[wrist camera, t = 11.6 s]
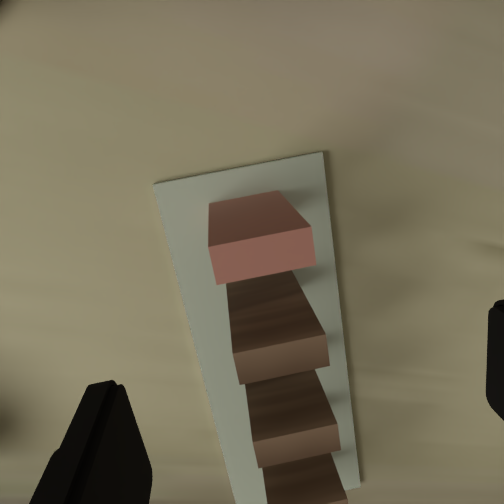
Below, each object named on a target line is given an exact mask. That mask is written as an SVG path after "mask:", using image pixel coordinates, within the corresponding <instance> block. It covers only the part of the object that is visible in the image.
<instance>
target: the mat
mask: <svg viewBox="0 0 504 504" xmlns="http://www.w3.org/2000/svg"><path fill="white" fill-rule="evenodd" d="M153 188H154V192H155V196H156V200H157V203H158V207H159V211H160V215H161V219H162V223H163V226H164V230H165V234H166V238H167V242H168V246H169V249H170V253H171V257H172V261H173V265H174V269H175V272H176V276H177V280H178V284H179V288H180V292H181V295H182V299H183V303H184V307H185V311H186V315H187V318H188V322H189V326H190V330H191V334H192V338H193V341H194V345H195V349H196V353H197V357H198V361H199V364H200V368H201V372H202V376H203V380H204V383H205V387H206V391H207V395H208V399H209V403H210V406H211V410H212V414H213V418H214V422H215V426H216V429H217V433H218V437H219V441H220V445H221V449H222V452H223V456H224V460H225V464H226V468H227V472H228V475H229V479H230V483H231V487H232V491H233V495H234V498H235V502H236V504H267V498H266V491H265V485H264V478H263V471H262V468H259V469H258V464H257V460H256V456H255V451H254V447H253V442H252V435H251V427H250V419H249V412H248V404H247V396H246V389H245V384H243V385H239V380H238V376H237V371H236V367H235V363H234V358H233V353H232V343H231V332H230V322H229V312H228V301H227V291H226V283H225V284H220V285H216V280H215V276H214V272H213V267H212V263H211V258H210V254H209V249H208V212H209V203H214V202H219V201H224V200H229V199H234V198H240V197H245V196H250V195H255V194H260V193H265V192H271V191H276V190H278V191H279V192H280V193H281V194H282V195H283V196H284V197H285V198H286V200H287V201H288V202H289V203H290V204H291V205H292V206H293V207H294V208H295V209H296V210H297V211H298V212H299V214H300V215H301V216H302V217H303V218H304V219H305V220H306V221H307V222H308V223H309V224H310V225H311V227H312V234H313V242H314V250H315V257H316V265H314V266H309V267H304V268H300V269H295V270H292V272H293V273H294V275H295V277H296V279H297V281H298V283H299V285H300V287H301V288H302V290H303V292H304V294H305V296H306V298H307V300H308V301H309V303H310V305H311V307H312V309H313V311H314V313H315V315H316V316H317V318H318V320H319V322H320V324H321V326H322V328H323V330H324V331H325V333H326V338H327V346H328V353H329V361H330V366H327V367H323V368H318V369H315V371H316V373H317V375H318V378H319V380H320V383H321V385H322V387H323V390H324V392H325V395H326V397H327V399H328V402H329V404H330V407H331V409H332V411H333V414H334V416H335V419H336V421H337V423H338V430H339V438H340V446H341V450H340V451H335V452H331V455H332V457H333V460H334V463H335V466H336V468H337V471H338V474H339V477H340V480H341V482H342V485H343V488H344V491H345V490H350V489H354V488H358V487H361V486H360V477H359V468H358V459H357V450H356V442H355V433H354V424H353V415H352V406H351V398H350V389H349V380H348V371H347V362H346V354H345V345H344V336H343V327H342V318H341V310H340V301H339V292H338V283H337V274H336V265H335V257H334V248H333V239H332V230H331V221H330V213H329V204H328V195H327V186H326V177H325V169H324V160H323V152H321V151H320V152H315V153H310V154H305V155H300V156H295V157H289V158H284V159H279V160H274V161H269V162H263V163H258V164H253V165H248V166H243V167H237V168H232V169H227V170H222V171H217V172H211V173H206V174H201V175H196V176H191V177H185V178H180V179H175V180H170V181H165V182H159V183H154V184H153Z"/></svg>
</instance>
